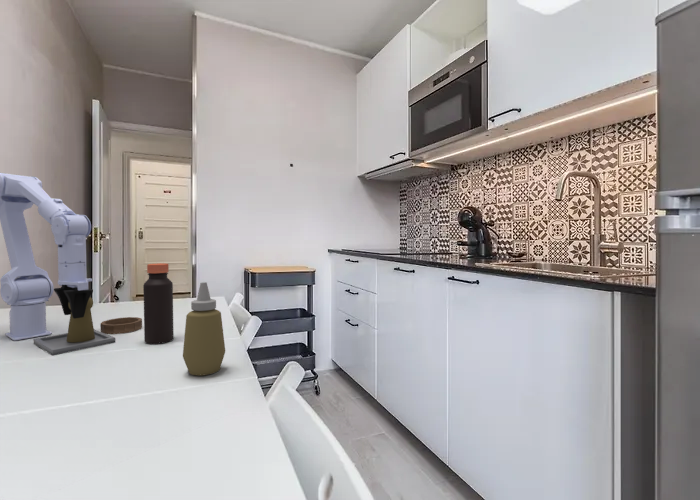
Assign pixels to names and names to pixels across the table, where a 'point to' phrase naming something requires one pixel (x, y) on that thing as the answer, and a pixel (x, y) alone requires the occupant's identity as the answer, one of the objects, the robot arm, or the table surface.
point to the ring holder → (121, 325)
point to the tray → (71, 343)
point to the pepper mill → (81, 326)
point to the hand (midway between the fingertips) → (74, 316)
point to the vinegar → (158, 305)
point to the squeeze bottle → (203, 335)
